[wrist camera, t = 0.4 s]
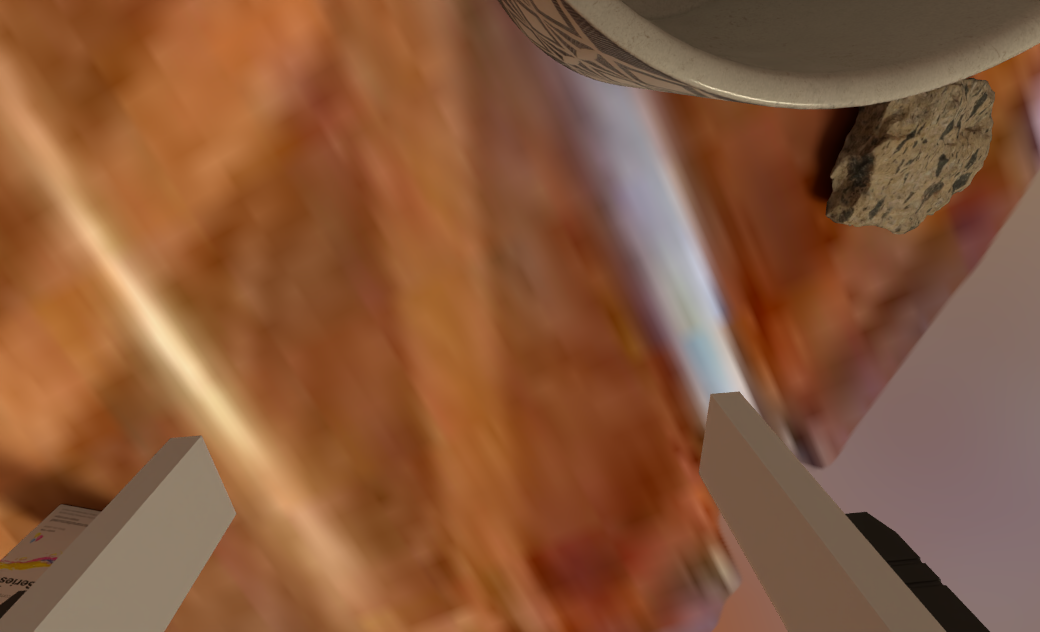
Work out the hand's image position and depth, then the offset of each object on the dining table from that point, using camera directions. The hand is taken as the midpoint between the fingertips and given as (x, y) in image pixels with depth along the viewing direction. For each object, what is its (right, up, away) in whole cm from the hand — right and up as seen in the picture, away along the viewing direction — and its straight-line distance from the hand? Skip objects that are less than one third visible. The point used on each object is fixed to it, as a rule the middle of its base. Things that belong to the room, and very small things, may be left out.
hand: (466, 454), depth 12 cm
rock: (+32, +17, +25) cm, 44 cm away
